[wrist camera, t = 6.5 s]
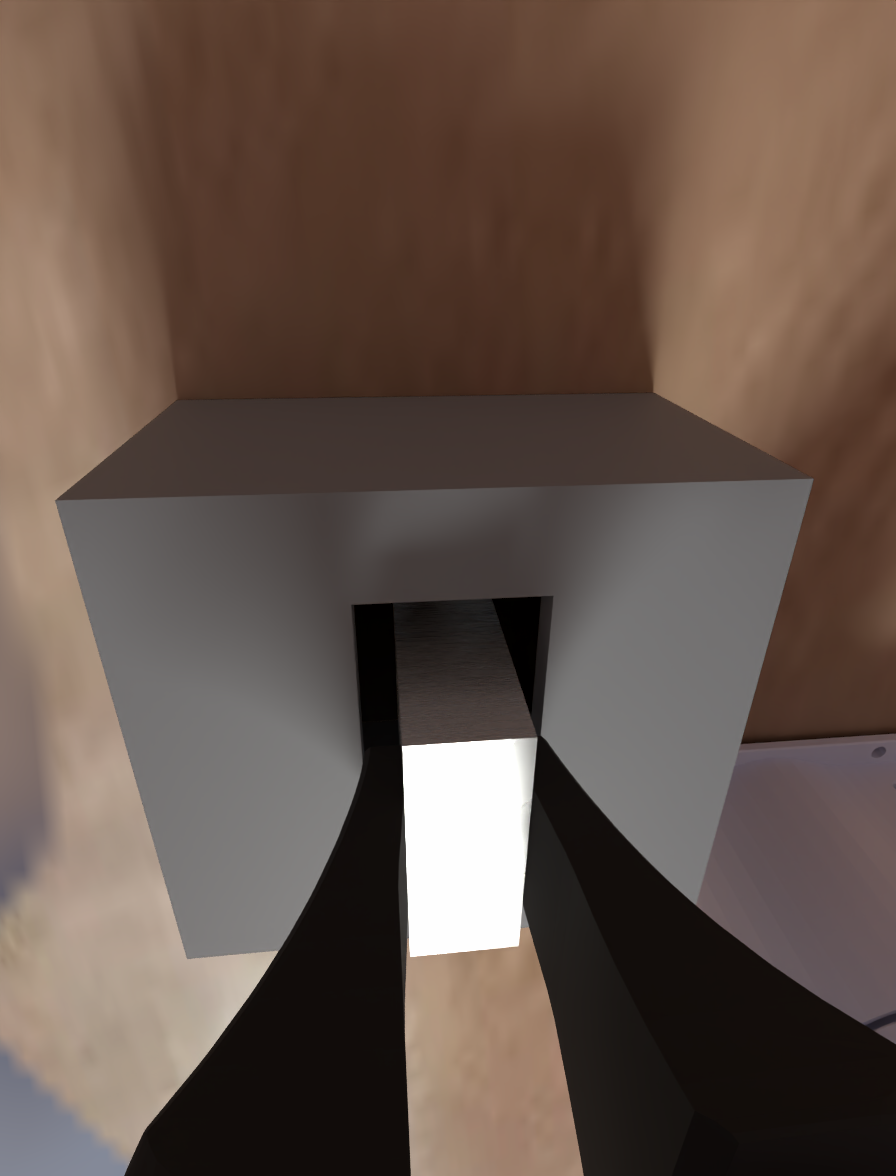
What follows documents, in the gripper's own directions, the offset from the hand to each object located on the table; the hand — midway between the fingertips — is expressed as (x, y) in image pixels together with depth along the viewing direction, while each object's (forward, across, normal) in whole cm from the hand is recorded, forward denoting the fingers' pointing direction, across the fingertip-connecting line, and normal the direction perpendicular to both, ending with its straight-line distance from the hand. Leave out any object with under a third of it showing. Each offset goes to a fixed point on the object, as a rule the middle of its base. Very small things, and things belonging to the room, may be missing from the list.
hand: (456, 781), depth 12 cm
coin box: (+8, 0, 0) cm, 8 cm away
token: (+3, 0, 0) cm, 3 cm away
